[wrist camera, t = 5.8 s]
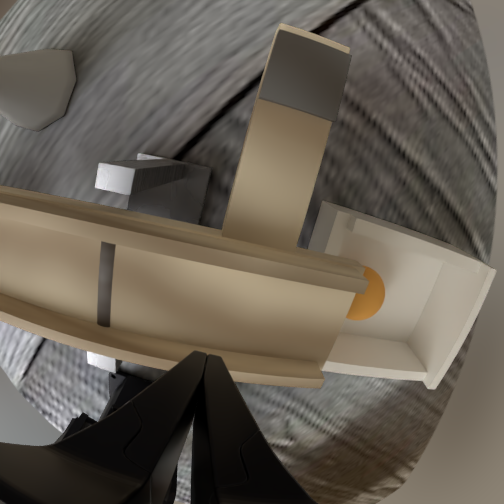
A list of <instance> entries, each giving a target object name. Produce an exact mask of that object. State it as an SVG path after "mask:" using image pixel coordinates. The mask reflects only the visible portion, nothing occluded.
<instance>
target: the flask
mask: <svg viewBox="0 0 504 504" xmlns="http://www.w3.org/2000/svg"><path fill="white" fill-rule="evenodd" d="M75 82H76V75H75V68H74V62H73V55H72V51H69V50H57V49H42V50H35V51H29V52H24V53H17V54H11V55H5V56H0V114H1V115H3V116H4V117H5V118H7V119H8V120H9V121H10V122H12V123H13V124H15V125H16V126H19V127H22V128H26V129H30V130H33V131H37V132H38V131H40V130H41V129H43V128H44V127H46V126H48V125H49V124H51V123H52V122H54V121H56V120H57V119H59V118H61V117H62V116H64V113H65V110H66V107H67V104H68V101H69V99H70V96H71V93H72V90H73V88H74V85H75Z"/></svg>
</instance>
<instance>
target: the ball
mask: <svg viewBox="0 0 504 504" xmlns="http://www.w3.org/2000/svg"><path fill="white" fill-rule="evenodd" d="M363 267H364V268H365V271H364V274H363V276H364V277H365V278H366V279H367V280H369V284H368V286H367V289H366V291H365V294H359V293H356V294H355V297H354V299H353V302H352V304H351V307H350V309H349V311H348V314H347V316H346V318H348V319H350V320H358V321H359V320H365V319H368V318H370V317H372V316H373V315H375V314H376V313H377V312H378V311H379V309H380V308H381V306H382V304H383V302H384V298H385V286H384V283H383V280H382V278H381V277H380V275H379V274H378V273H377V272H376V271H374V270H373V269H371V268H369V267H367V266H363Z"/></svg>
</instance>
